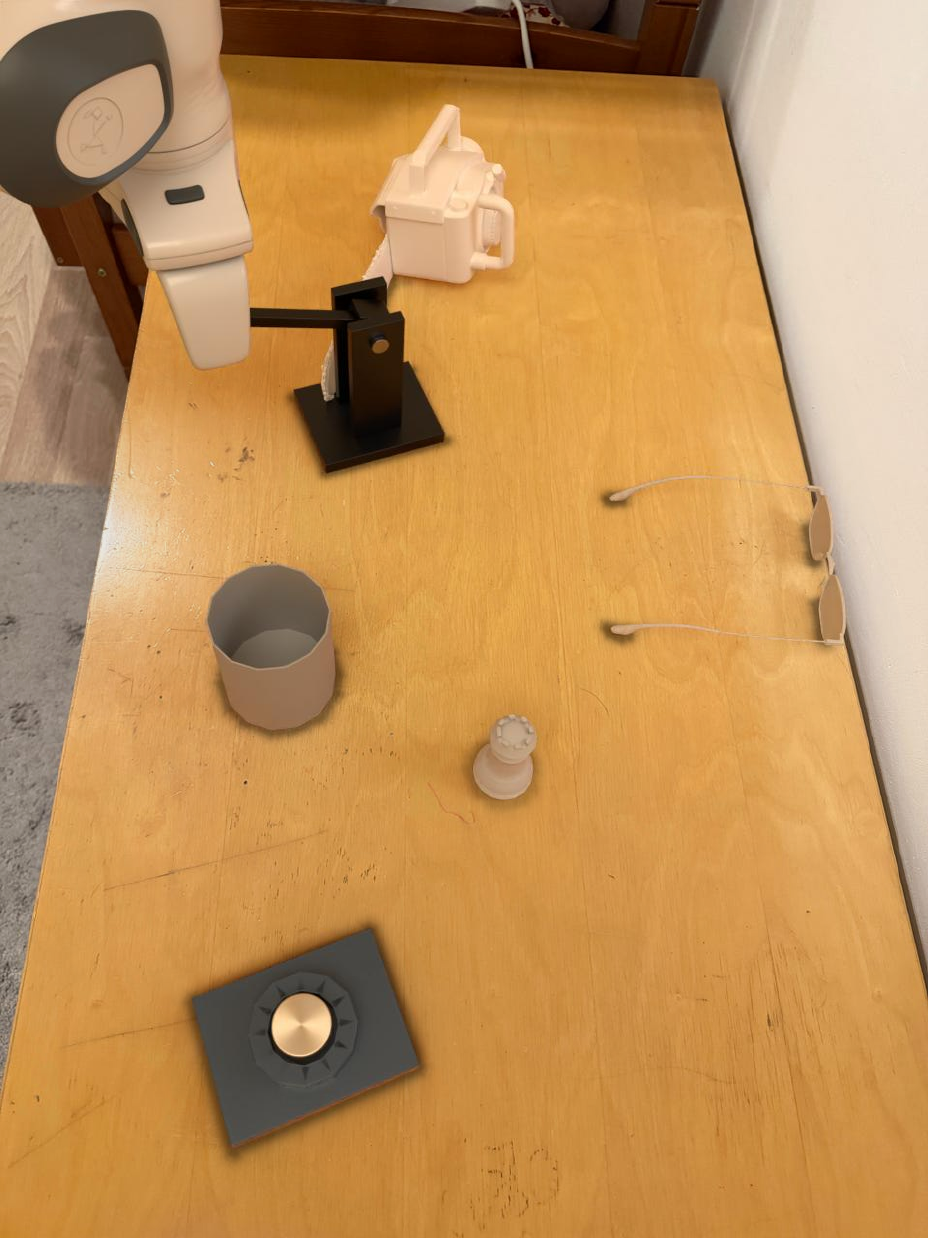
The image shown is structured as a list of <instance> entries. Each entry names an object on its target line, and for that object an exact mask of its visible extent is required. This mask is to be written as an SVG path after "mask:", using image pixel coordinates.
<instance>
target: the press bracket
mask: <svg viewBox="0 0 928 1238" xmlns="http://www.w3.org/2000/svg"><path fill="white" fill-rule="evenodd" d="M362 280H363V279H362ZM362 280H359V281H358V280H357V281H354V282H350V283H346V284H341V285H336V286H332V287H330V303H331V310H347V311H348V308H349V305H350V302H351V299H371V300H383V301H384V303H385V305H386V307H387V308H388V289H387V283H386V281H385V279H384V277H383V276H381V277H376V278H372V279H367V280H363V281H362ZM347 326H348V330H347V329H332V339H333V345H334V365H335V385H336V392H335V393H334V394H332V395H334V398H333V399H332V400H329V401H325V400H324V395H323V391H322V386H321V382H318V383H313V384H310V385H306V386H302V387H299V388H294V389H293V399H294V402H295V403H296V406H297V408H298V410H299V413H300V416H301V418H302V420H303V422H304V425H305V427H306V429H307V432H308V434H309V437H310V439H311V441H312V444H313V446H314V448H315V451H316V454H317V456H318V458H319V460H320V464H321V466H322V468H323V471H324V472H325V474H330V473H334V472H338V471H341V470H345V469H349V468H351V467H352V468H353V467H356V466H359V465H360V466H361V465H364V464H366V463H371V462H376V461H378V460H381V459H386V458H390V457H394V456H397V455H400V454H404V453H408V452H412V451H416V450H419V449H422V448H426V447H430V446H433V445H437V444H440V443H444V442H445V435H446V434H445V431H444V429H443V427H442V424H441V423H440V421H439V419H438V417H437V415H436V413H435V411H434V409H433V407H432V405H431V403H430V401H429V400H428V398H427V394H426V393H425V391H424V389H423V387H422V385H421V383H420V381H419V379H418V377H417V374H416V373H415V371H414V369H413V367H412V365H411V363H410V361H409V360H407V361H405V358H404V357H405V335H406V334H405V331H406V318H405V316H404V314H403V312H402V311H401V310H397V311H394V312H393V311H392V312H389V314H385V315H380V316H376V317H372V318H368V319H363V320H359V321H355V322H351V323H348V324H347Z"/></svg>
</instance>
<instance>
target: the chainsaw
mask: <svg viewBox="0 0 928 1238" xmlns="http://www.w3.org/2000/svg"><path fill="white" fill-rule="evenodd" d="M461 134H462V133H461V111H460V107H457V106H456V105H454V104H450V103H449V104H448V103H446V104H443V106H442V108H441V109H440V111H439V113H438V114H437V116H436V117H435V119H434V120H433V122H432V123H431V125H430V126H429V129H428V130H427V131H426V133H425V135H424V136H423V138H422V140H421V141H420V142H419V144H418V145H417V147H416V148H415V151H413V152H412V153H407V154H403V155H400V156H397V157H395V158H394V159H393V160H392V164H391V168H390V170H389V172H388V173H387V176H386V178H385V180H384V182H383V184H382V185H381V187H380V189H379V191H378V194H377V195H376V197H375V199H374V201H373V203H372V205H371V207H370V209H369V215H370V217H372V218H377V219H378V223H379V227H380V230H381V233H383V234H385V235H384V238H383V239H382V242H381V243H380V244H379V245H378V249H376V250H375V255H374V256H373V257H372V261H371V263H370V264H369V267H368V268H366V270H365V274H363V275H362V277H361V278H362V280H361V281H363V280H367V279H372V278H376V277H381V276H383V277H384V279H385V281H386V283H387V290H388V288H389V285H390V283H391V280H392V278H393V277H394V275H397V276H401V277H402V276H403V277H410V278H417V279H423V280H429V281H437V282H444V283H449V284H457V285H459V284H460V285H463V284H466V283H468V282H470V280H471V279H472V278H473V276H474V275H475V272H476V271H480V272H486V270H489V271H496V272H497V271H499V272H500V271H505V270H507V269H509V268H510V267H511V266H512V264H513V263H514V260H515V259H514V258H515V211H514V206H513V205H512V203H511V202H510V201H509V200H507V198H504V193H505V191H504V189H505V188H504V182H505V181H506V180H507V174H506V170H505V168H503V166H502V164H500V163H495V162H490V161H489V162H488V161H487V160H486V158H485V154H484V151H483V149H482V147H481V146H480V145H479V144H478V143H477V142H476V141H475V140H473V139H471V138H470V137H466V136H464V135H461ZM446 135H447V140H446V141H445V142H444V144H442V142H443V140H444V139H445V137H446ZM441 144H442V145H441ZM499 244H500V256H494V255H488V252H489V251H490V248H491V247H492V248H493V247H495V246H498V245H499ZM320 369H321V370H322V372H321V381H320V383H321V386H322V391H323V395H324V400H325V401H329V400H332V399H333V398H334V395H332V394H334V393H335V392H336V385H335V365H334V345H333V338H332V339H331V340H330V345H329V347H328V351H327V352H326V355H325V356H324V359H323V364H322V365H321V367H320Z"/></svg>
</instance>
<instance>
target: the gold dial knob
mask: <svg viewBox="0 0 928 1238" xmlns="http://www.w3.org/2000/svg"><path fill="white" fill-rule="evenodd" d="M332 1030H333V1023H332V1018H331V1014H330V1011H329V1009H328V1007H327V1005H326V1004H325V1003H324V1002H323V1001H322V1000H321V999H320V998H318V997H317V996H315V995H312V994H308V993H300V994H295V995H292V996H290V997H288V998H287V999H285V1000H284V1001H283V1002H282V1003H281V1004H280V1005H279V1006H278V1008H277V1009H276V1011H275V1013H274V1015H273V1019H272V1024H271V1031H272V1036H273V1039H274V1041H275V1043H276V1045H277V1046H278V1048H279V1049H280V1050H281V1051H282V1053H284V1054H285V1055H286V1056H288V1057H290V1058H292V1059H296V1060H306V1059H310V1058H313V1057H315V1056H317V1055H318V1054H320V1053H321V1052H322V1051H323V1050H324V1049H325V1048H326V1046H327V1045H328V1043H329V1041H330V1039H331V1035H332Z"/></svg>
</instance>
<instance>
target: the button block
mask: <svg viewBox="0 0 928 1238" xmlns="http://www.w3.org/2000/svg"><path fill="white" fill-rule="evenodd" d="M374 935H375V934H374V933H373V930H372V928H371V927H369V928H367V929H365V930H362V931H359V932H357V933H354V934H351V935H349V936H347V937H344V938H341V939H339V940H336V941H333V942H331V943H329V944H326V945H323V946H321V947H319V948H316V949H313V950H311V951H309V952H306V953H303V954H301V955H299V956H296V957H293V958H290V959H288V960H286V961H283V962H280V963H278V964H275V965H273V966H269V967H268V968H265V969H263V970H259V971H258V972H255V973H253V974H249V975H248V976H245V977H242V978H240V979H237V980H234V981H232V982H230V983H227V984H224V985H222V986H219V987H216V988H214V989H212V990H209V991H206V992H204V993H201V994H198V995H196V996H194V997H192V998H191V1002H192V1005H193V1009H194V1013H195V1016H196V1021H197V1024H198V1027H199V1031H200V1035H201V1040H202V1043H203V1047H204V1051H205V1054H206V1059H207V1061H208V1066H209V1069H210V1073H211V1077H212V1081H213V1084H214V1088H215V1092H216V1095H217V1096H216V1097H217V1100H218V1103H219V1107H220V1111H221V1114H222V1119H223V1121H224V1125H225V1129H226V1133H227V1137H228V1141H229V1144H230V1147H232V1148H235V1149H238V1148H239V1147H242V1146H244V1145H246V1144H249V1143H250V1142H254V1141H255V1140H258V1139H260V1138H263V1137H265V1136H267V1135H269V1134H271V1133H274V1132H276V1131H278V1130H281V1129H283V1128H286V1127H288V1126H290V1125H292V1124H295V1123H297V1122H299V1121H301V1120H303V1119H306V1118H308V1117H310V1116H313V1115H315V1114H318V1113H320V1112H322V1111H325V1110H327V1109H329V1108H331V1107H333V1106H336V1105H338V1104H341V1103H342V1102H346V1101H348V1100H349V1099H350V1100H351V1099H352V1098H355V1097H356V1096H359V1095H361V1094H363V1093H366V1092H368V1091H370V1090H373V1089H376V1088H377V1087H380V1086H382V1085H384V1084H386V1083H388V1082H391V1081H393V1080H396V1079H398V1078H401V1077H402V1076H405V1075H407V1074H410V1073H412V1072H414V1071H416V1070H419V1067H420V1062H419V1060H418V1056H417V1054H416V1050H415V1048H414V1045H413V1042H412V1039H411V1036H410V1034H409V1031H408V1028H407V1026H406V1023H405V1020H404V1017H403V1015H402V1011H401V1009H400V1006H399V1003H398V1000H397V998H396V994H395V992H394V988H393V986H392V983H391V981H390V977H389V975H388V972H387V969H386V966H385V963H384V960H383V958H382V955H381V952H380V949H379V947H378V944H377V941H376V938H375V936H374ZM300 993H308V994H312V995H315V996H317V997H318V998H320V999H321V1000H322V1001H323V1002H324V1003H325V1004H326V1005H327V1007H328V1009H329V1011H330V1014H331V1018H332V1023H333V1030H332V1035H331V1039H330V1041H329V1043H328V1045H327V1046H326V1048H325V1049H324V1050H323V1051H322V1052H321V1053H320V1054H318V1055H317V1056H315V1057H313V1058H310V1059H306V1060H296V1059H292V1058H290V1057H288V1056H286V1055H285V1054H284V1053H282V1051H281V1050H280V1049H279V1048H278V1046H277V1045H276V1043H275V1041H274V1039H273V1036H272V1031H271V1024H272V1019H273V1015H274V1013H275V1011H276V1009H277V1008H278V1006H279V1005H280V1004H281V1003H282V1002H283V1001H284V1000H285V999H287V998H288V997H290V996H292V995H295V994H300Z"/></svg>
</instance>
